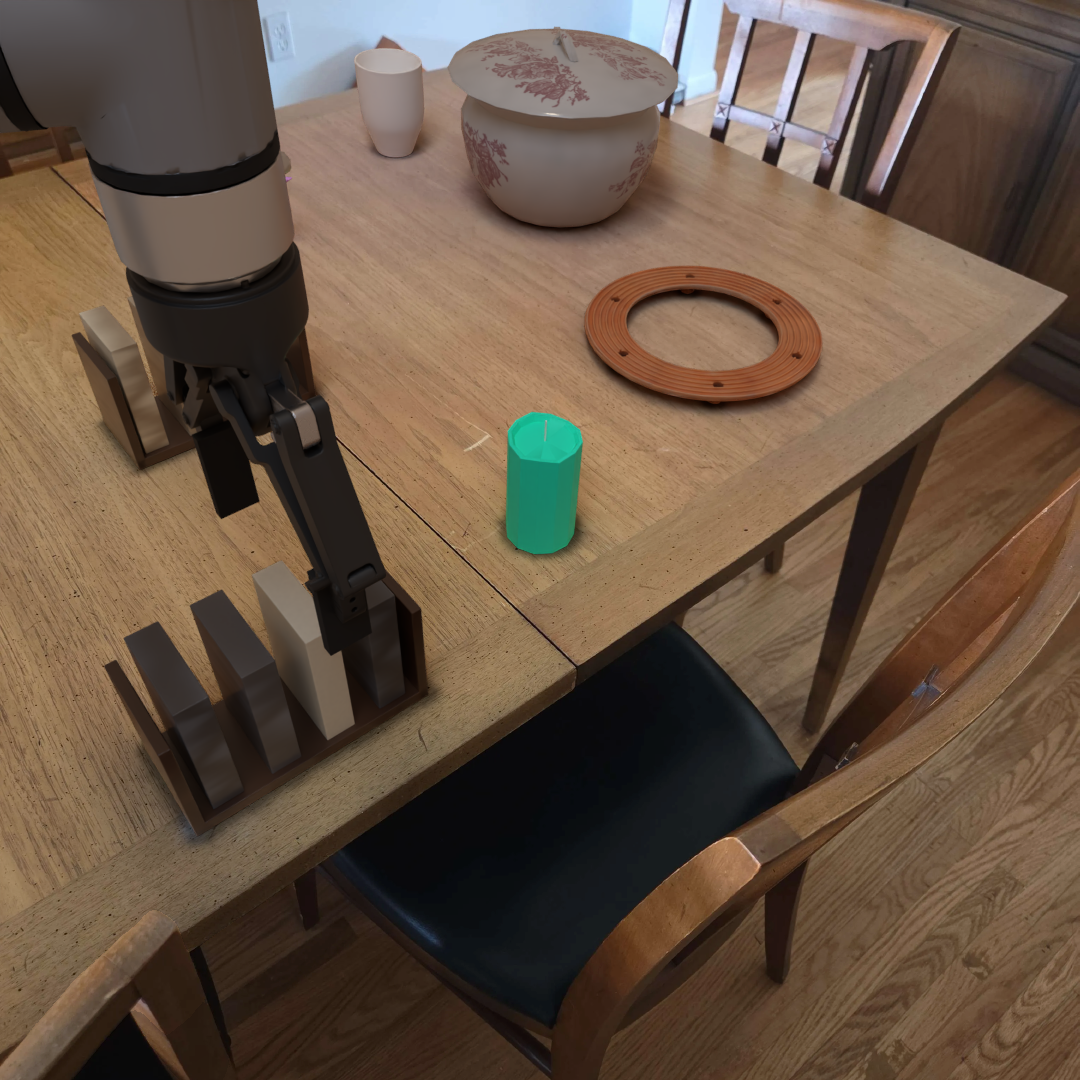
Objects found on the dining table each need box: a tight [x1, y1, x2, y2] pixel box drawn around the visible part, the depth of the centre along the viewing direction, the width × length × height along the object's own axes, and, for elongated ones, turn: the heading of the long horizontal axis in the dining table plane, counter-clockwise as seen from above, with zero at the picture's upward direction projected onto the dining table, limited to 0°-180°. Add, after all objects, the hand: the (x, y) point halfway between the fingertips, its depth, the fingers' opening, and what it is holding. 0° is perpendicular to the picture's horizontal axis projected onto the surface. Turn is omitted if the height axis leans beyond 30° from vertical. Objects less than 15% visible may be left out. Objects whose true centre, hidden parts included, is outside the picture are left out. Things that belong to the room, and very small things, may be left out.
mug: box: [353, 47, 425, 158], centre depth 128 cm, size 12×9×12 cm
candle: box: [505, 411, 584, 555], centre depth 76 cm, size 6×6×12 cm
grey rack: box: [103, 568, 429, 837], centre depth 62 cm, size 18×8×12 cm, turn 129°
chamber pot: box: [447, 26, 679, 228], centre depth 115 cm, size 28×28×21 cm
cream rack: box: [71, 295, 317, 471], centre depth 85 cm, size 18×8×12 cm, turn 129°
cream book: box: [251, 559, 355, 740], centre depth 62 cm, size 2×7×11 cm, turn 39°
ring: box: [583, 265, 824, 405], centre depth 100 cm, size 25×25×2 cm
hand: (289, 570), depth 56 cm, fingers open, 13 cm apart
